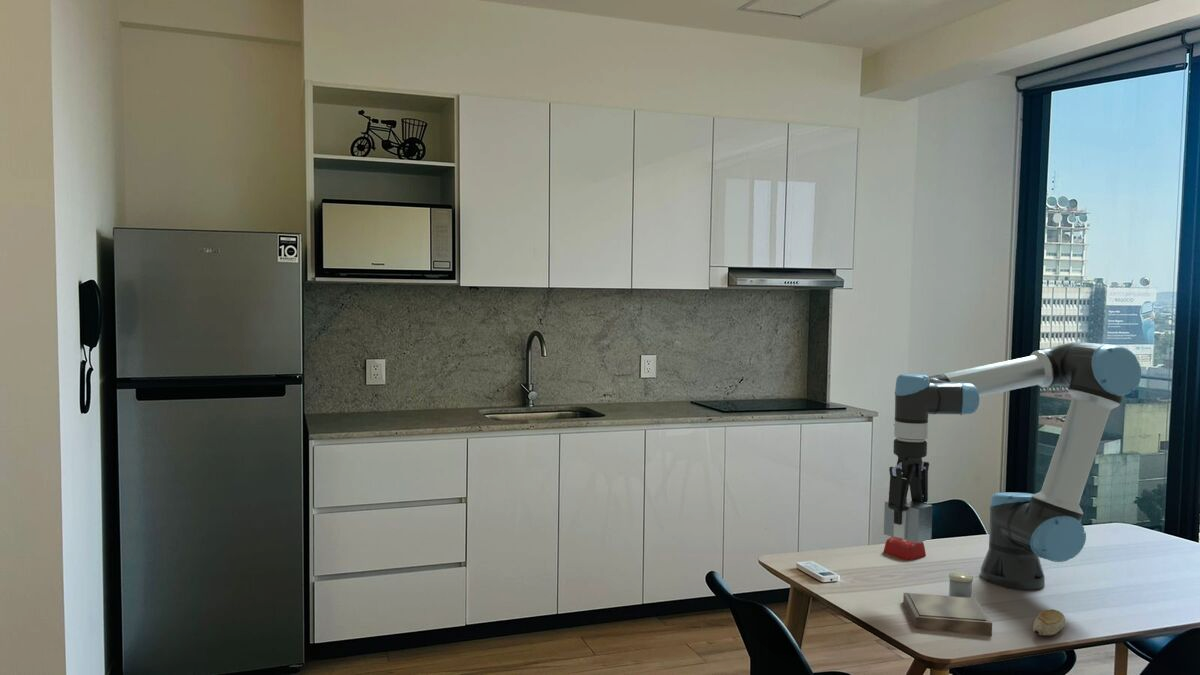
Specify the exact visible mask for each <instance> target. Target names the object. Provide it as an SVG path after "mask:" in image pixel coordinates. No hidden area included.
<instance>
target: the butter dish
mask: <svg viewBox="0 0 1200 675" xmlns="http://www.w3.org/2000/svg"><path fill="white" fill-rule="evenodd" d="M883 548H884V549H883V553H884V554H886V555H889V556H892V557H894V558H897V559H901V560H904V561H909V562H910V561H916V560H920V559H922V558H925V557H926V556H927V554H926V548H925V544H924V541H922V542H919V543H916V542H912V541H908V540H904V539H900V538H896V537H892V536H889V537H888V538H887V539H886V541H885V544H884V547H883Z"/></svg>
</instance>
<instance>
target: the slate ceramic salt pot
mask: <svg viewBox="0 0 1200 675" xmlns="http://www.w3.org/2000/svg"><path fill="white" fill-rule="evenodd" d="M948 579H949V588H948V590H949V591H948V596H957V597H971V598H972V592H973V590H972V588H973V581H974V577H973V575H972V574H970V573H966V572H962V571H953V572H949V573H948Z"/></svg>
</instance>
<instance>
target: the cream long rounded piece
mask: <svg viewBox="0 0 1200 675" xmlns="http://www.w3.org/2000/svg"><path fill="white" fill-rule="evenodd" d="M1065 624H1066V616H1065V614H1064V613H1062V612H1061V611H1059V610H1056V609H1052V608H1051V609H1045V610H1042V611H1041V612H1040V613H1038V614H1037V616H1036V617H1035V619H1034V622H1033V625H1032V632H1033V633H1035V634H1036V635H1039V636H1043V637H1044V636H1053V635H1056V634H1058V632H1060V631H1062V629H1064V627H1065Z"/></svg>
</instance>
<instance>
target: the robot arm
mask: <svg viewBox="0 0 1200 675" xmlns="http://www.w3.org/2000/svg"><path fill="white" fill-rule="evenodd" d="M1141 378H1142V366H1141V363H1140V362H1139V360H1138V358H1137V356H1136V355H1135V354H1134V352H1132V350H1130V349H1129V348H1126V347H1123V346H1120V345H1115V344H1110V343H1098V342H1097V343H1093V342H1086V341H1076V342H1067V343H1063V344H1060V345H1056V346H1052V347H1046V348H1042V349H1039V350H1035V351H1033V352H1032V353H1031V354H1030V355H1029V356H1024V357H1023V356H1022V357H1018V358H1015V359H1014V358H1013V359H1010V360H1003V361H1000V362H994V363H990V364H985V365H978V366H974V367H970V368H964V369H960V370H954V371H950V372H946V373H945V372H944V373H941V374H935V375H930V376H928V375H925V374H917V373H904V374H903V373H902V374H901V373H900V375H898V376H897V377H896V381H895V387H894V388H895V390H894V424H893V426H894V431H893V432H894V433H893V435H894V437H895V438H894V440H893V454H894V455H895V456H897V461H896V465H895V466H889V469H888V470H889V471H888V472H889V490H888V500H887V501H888V507H889V508H890V509H893V510H894V535H893V536H894V537H898V538H902V539H905V535H906V511H904V508H905V503H906V498H907V499H908V493H909V490H910V497H911V499H910V500H911V501H914V502H919V503H924V504H928V501H929V477H928V476H929V474H928V473H929V468H930V463H929V461H923V459H922V458H925V457H927V453H928V442H927V439H928V434H929V433H928V430H929V429H928V427H929V426H928V424H929V423H928V422H929V415H960V416H963V415H971V414H974V413H975V412H976V411H977V410H978V409H979V406H980V397H983V396H988V395H989V396H990V395H993V394H998V393H999V394H1000V393H1005V392H1008V391H1009V392H1010V391H1013V390H1017V389H1023V388H1028V387H1034V386H1039V387H1041V388H1047V387H1054V386H1057V387H1058V386H1061V387H1068V388H1067V392H1068V394H1069V395H1070V398H1071V402H1070V404H1069V407H1068V410H1067V413H1066V416H1065V420H1064V422H1063V425H1062V428H1061V430H1060V434H1059V437H1058V440H1057V441H1056V442H1057V443H1056V446H1055V448H1054V451H1053V454H1052V457H1051V460H1050V463H1049V466H1048V470H1047V472H1046V474H1045V478H1044V481H1043V485H1042V487H1041V489H1040V491H1039V492H1037V493H1029V492H1012V491H1011V492H1009V491H1008V492H996V493H994V494H992V496H991V498H990V503H989V504H990V505H989V533H988V534H989V536H988V539H989V540H988V550H987V552H986V554H985V557H984V560H983V562H982V564H981V567H980V577H981V578H982V580H984V581H986V582H987V583H989V584H991V585H994V586H997V587H1001V588H1005V589H1010V590H1017V591H1019V590H1020V591H1034V590H1039V589H1042V588H1044V587H1045V580H1046V578H1045V574H1044V570H1043V566H1042V564H1041V560H1040V559H1041V558H1042V559H1044V560H1048V561H1050V562H1054V563H1063V562H1069V560H1071V559H1074V558H1075V557H1076V556H1078V555H1079V554H1080V553H1081V551H1082V550H1083V548H1084V547H1085V544H1086V542H1087V541H1086V540H1087V532H1086V530H1085V527H1084V525H1083V524H1082V523H1081V521H1082V518H1083V515H1084V512H1083V509H1082V507H1081V506H1080V502H1081V499H1082V496H1083V493H1084V490H1085V487H1086V484H1087V481H1088V478H1089V475H1090V472H1091V469H1092V467H1093V463H1094V461H1095V457H1096V454H1097V451H1098V448H1099V445H1100V443H1101V439H1102V437H1103V434H1104V431H1105V427H1106V426H1107V425H1106V424H1107V422H1108V420H1109V417H1110V413H1111V411H1112V410H1113V409H1116V408H1117V407H1120V406H1121V403H1122V400H1123V398H1124V396H1126V395H1129V394H1130V393H1131V392H1134V391H1135V390H1136V389H1137V388H1138V386H1139V384H1140V381H1141Z"/></svg>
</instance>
